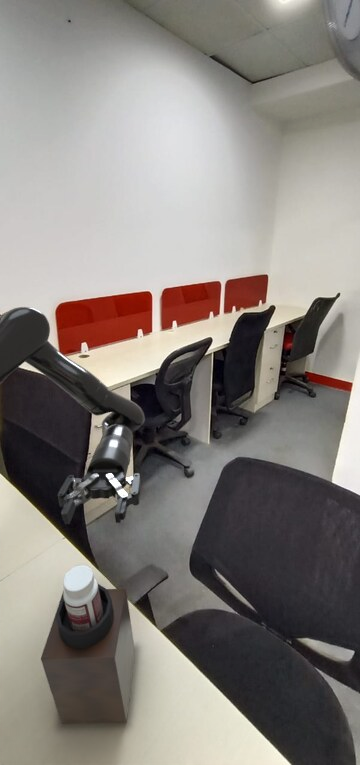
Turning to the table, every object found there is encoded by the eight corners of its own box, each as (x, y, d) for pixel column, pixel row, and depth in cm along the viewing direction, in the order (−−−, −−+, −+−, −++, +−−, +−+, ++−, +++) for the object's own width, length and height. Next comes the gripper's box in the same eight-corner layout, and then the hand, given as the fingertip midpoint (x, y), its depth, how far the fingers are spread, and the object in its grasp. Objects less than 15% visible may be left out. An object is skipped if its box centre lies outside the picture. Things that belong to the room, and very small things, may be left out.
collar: (51, 649, 49) (47, 636, 48) (68, 595, 56) (65, 582, 55) (108, 648, 48) (105, 635, 47) (117, 594, 56) (115, 581, 55)
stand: (60, 723, 54) (40, 658, 48) (78, 651, 63) (63, 589, 57) (126, 722, 54) (114, 657, 47) (135, 650, 63) (125, 588, 57)
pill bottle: (92, 595, 55) (84, 556, 52) (109, 617, 52) (102, 576, 49) (64, 618, 52) (53, 577, 49) (80, 642, 49) (70, 600, 46)
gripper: (73, 446, 72) (44, 502, 57) (143, 444, 72) (132, 500, 57) (79, 476, 75) (52, 537, 60) (146, 474, 75) (136, 536, 60)
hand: (91, 519), depth 59 cm, fingers open, 8 cm apart
